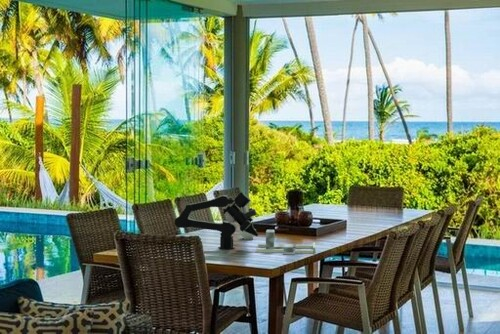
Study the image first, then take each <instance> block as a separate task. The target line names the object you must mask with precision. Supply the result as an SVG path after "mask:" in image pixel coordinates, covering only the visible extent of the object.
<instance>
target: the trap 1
mask: <svg viewBox="0 0 500 334" xmlns="http://www.w3.org/2000/svg"><path fill="white" fill-rule="evenodd" d="M282 255H283V256H295V255H296V253H295V251H293V252H283V253H282Z"/></svg>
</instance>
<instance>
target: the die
mask: <svg viewBox="0 0 500 334" xmlns="http://www.w3.org/2000/svg"><path fill="white" fill-rule="evenodd" d="M255 230H256V231H257V229H256V228H255ZM238 234H239V235H240V236H241V237H242V238H243V239H244V240H253V239H254V237H255V235H252V234H250V233H248V232H245V231H243V232H242V231H241V230H240V229H239V232H238Z"/></svg>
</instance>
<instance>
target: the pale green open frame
mask: <svg viewBox="0 0 500 334" xmlns="http://www.w3.org/2000/svg"><path fill="white" fill-rule="evenodd" d="M295 245H296V247H295V250H294V252H295V254H314V253H315V254H316V242H312V244H295ZM257 247H258V248H256V249H255V253H272V254H273V253H279V254H280V253H281V254H283V251H284V249H266V243H258V244H257Z"/></svg>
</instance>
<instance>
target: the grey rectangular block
mask: <svg viewBox="0 0 500 334" xmlns="http://www.w3.org/2000/svg"><path fill="white" fill-rule="evenodd" d="M275 232H276V231H275V229H266V231H265V244H266V247H265V249H284V251H283V252H294V247H293V245H294V244H292V243H291V244H290V243H275V237H276V236H275Z"/></svg>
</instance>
